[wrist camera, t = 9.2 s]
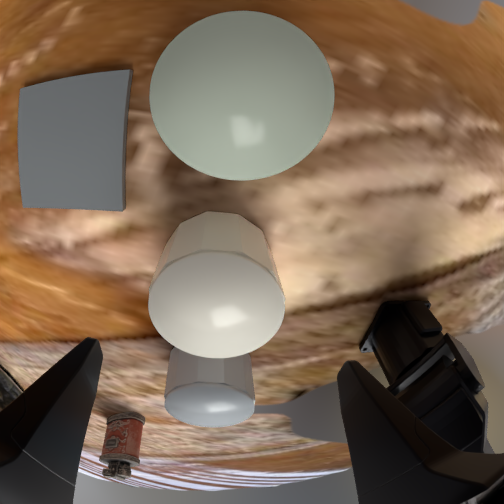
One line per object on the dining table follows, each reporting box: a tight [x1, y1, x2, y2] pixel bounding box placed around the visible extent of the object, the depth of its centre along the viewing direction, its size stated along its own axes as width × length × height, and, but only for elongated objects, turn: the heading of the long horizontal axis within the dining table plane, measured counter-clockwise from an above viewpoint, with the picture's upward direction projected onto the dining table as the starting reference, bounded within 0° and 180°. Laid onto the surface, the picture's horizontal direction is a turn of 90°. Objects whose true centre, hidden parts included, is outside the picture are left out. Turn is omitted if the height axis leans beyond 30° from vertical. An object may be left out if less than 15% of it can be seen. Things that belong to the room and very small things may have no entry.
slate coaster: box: [18, 70, 133, 211], centre depth 14 cm, size 9×9×1 cm
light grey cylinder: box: [164, 347, 255, 427], centre depth 22 cm, size 7×7×6 cm
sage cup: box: [149, 11, 334, 181], centre depth 12 cm, size 7×7×6 cm
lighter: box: [99, 412, 145, 480], centre depth 26 cm, size 8×3×10 cm, turn 124°
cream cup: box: [148, 211, 285, 358], centre depth 17 cm, size 7×7×6 cm
